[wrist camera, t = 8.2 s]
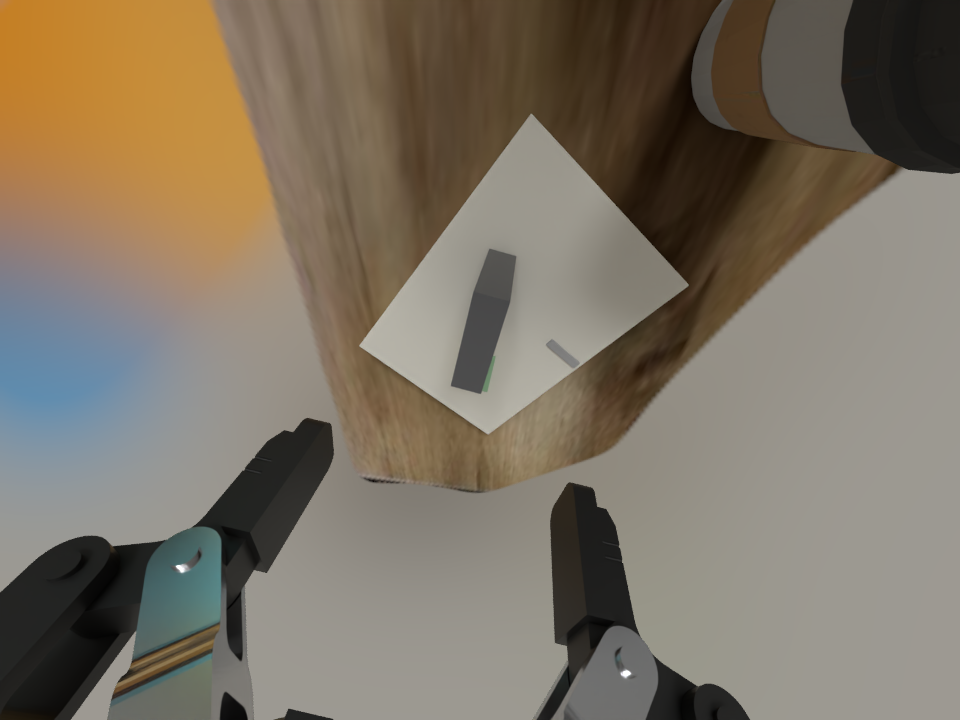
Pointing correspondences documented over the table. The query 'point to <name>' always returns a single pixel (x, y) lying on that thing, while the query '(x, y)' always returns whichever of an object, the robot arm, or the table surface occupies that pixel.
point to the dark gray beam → (484, 321)
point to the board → (525, 282)
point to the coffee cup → (837, 76)
